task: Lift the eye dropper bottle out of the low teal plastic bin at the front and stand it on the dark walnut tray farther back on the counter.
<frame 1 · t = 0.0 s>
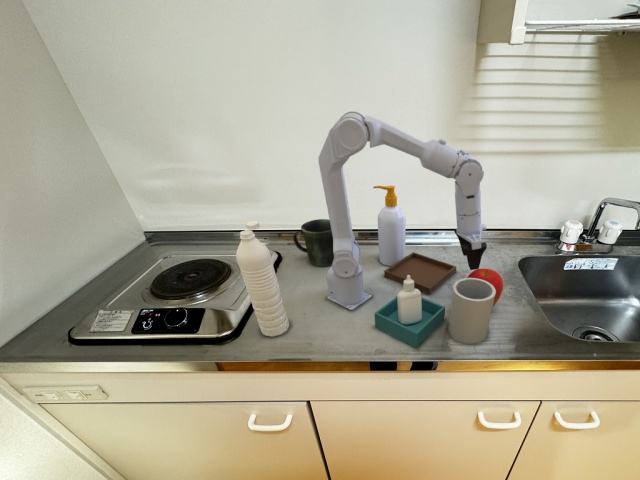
hand: (470, 261, 82), 11 cm above the countertop, tool pointing down, fingers open, 7 cm apart
cup: (467, 331, 76), on the countertop
eye dropper bottle: (410, 321, 77), point 1 cm above the countertop, touching bin
apple: (479, 308, 83), on the countertop, touching gripper
water bottle: (276, 325, 77), on the countertop
bin: (410, 323, 78), on the countertop
mug: (320, 260, 105), on the countertop
tray: (420, 274, 97), on the countertop
soap bottle: (391, 260, 104), on the countertop
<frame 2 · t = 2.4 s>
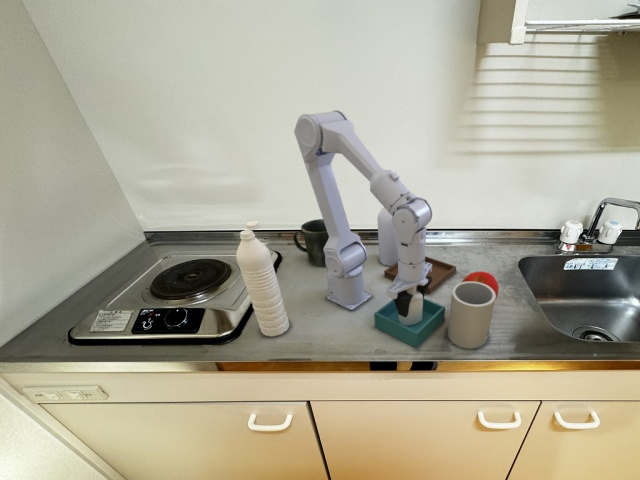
hand: (410, 308, 75), 5 cm above the countertop, tool pointing down, fingers closed on eye dropper bottle, 5 cm apart
cup: (467, 335, 74), on the countertop, touching apple
eye dropper bottle: (410, 321, 77), point 1 cm above the countertop, touching bin, gripper
apple: (477, 307, 82), on the countertop, touching cup
everything else where it was.
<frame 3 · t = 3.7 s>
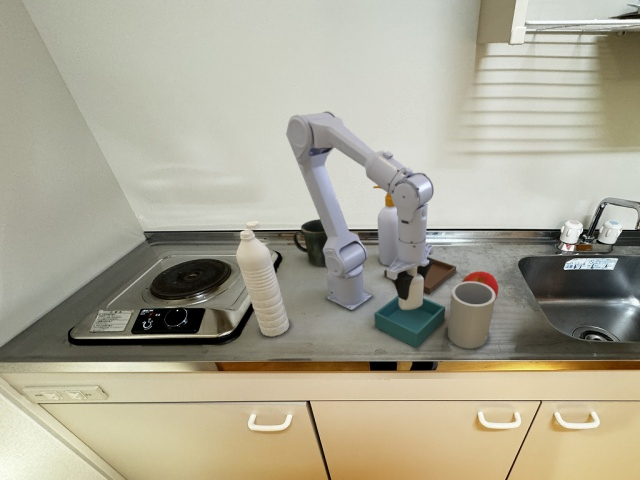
hand: (410, 292, 73), 9 cm above the countertop, tool pointing down, fingers closed on eye dropper bottle, 5 cm apart
eye dropper bottle: (410, 306, 75), point 5 cm above the countertop, touching gripper
everything else where it was.
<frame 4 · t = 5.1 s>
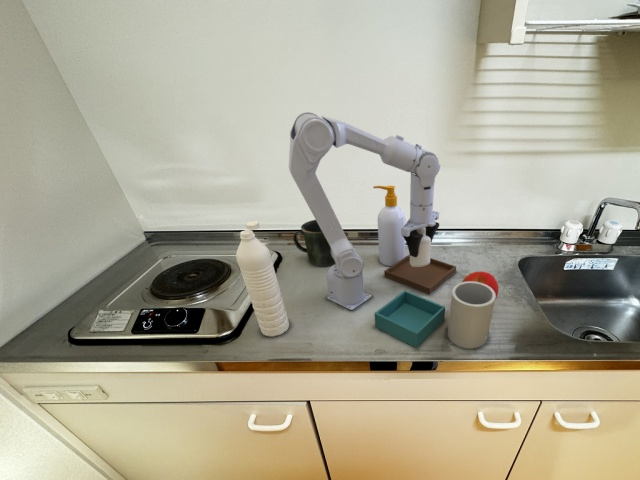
hand: (419, 251, 86), 10 cm above the countertop, tool pointing down, fingers closed on eye dropper bottle, 5 cm apart
eye dropper bottle: (419, 264, 89), point 6 cm above the countertop, touching gripper
everything else where it was.
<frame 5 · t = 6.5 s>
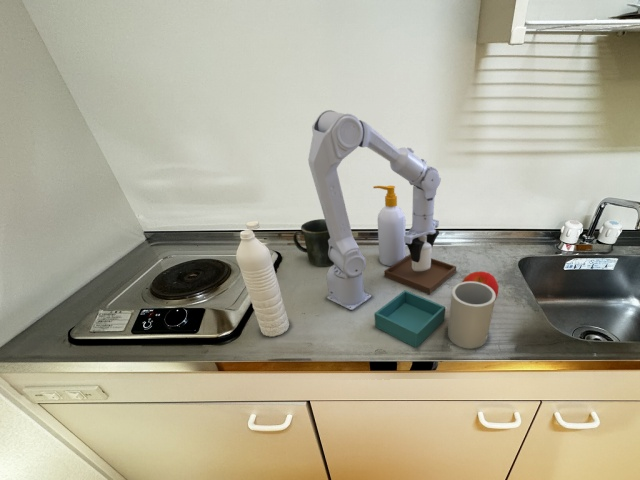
hand: (421, 257, 93), 6 cm above the countertop, tool pointing down, fingers closed on eye dropper bottle, 5 cm apart
eye dropper bottle: (421, 269, 95), point 2 cm above the countertop, touching gripper
everything else where it was.
when the fingers open (4 cm above the countertop, at t = 7.6 s): eye dropper bottle stays where it is, resting on tray.
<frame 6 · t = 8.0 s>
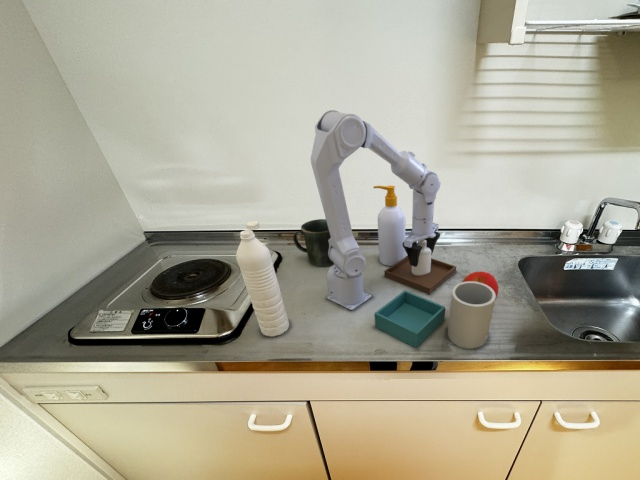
hand: (421, 260, 94), 5 cm above the countertop, tool pointing down, fingers open, 7 cm apart
eye dropper bottle: (420, 273, 96), resting on tray
everything else where it was.
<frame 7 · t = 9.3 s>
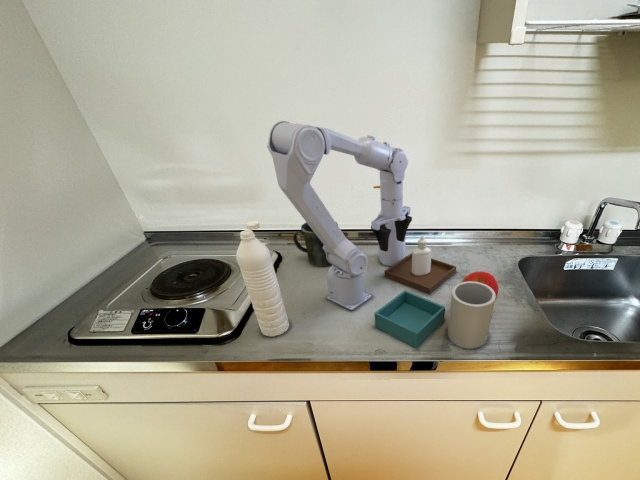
hand: (392, 245, 90), 10 cm above the countertop, tool pointing down, fingers open, 7 cm apart
nothing on the countertop moved.
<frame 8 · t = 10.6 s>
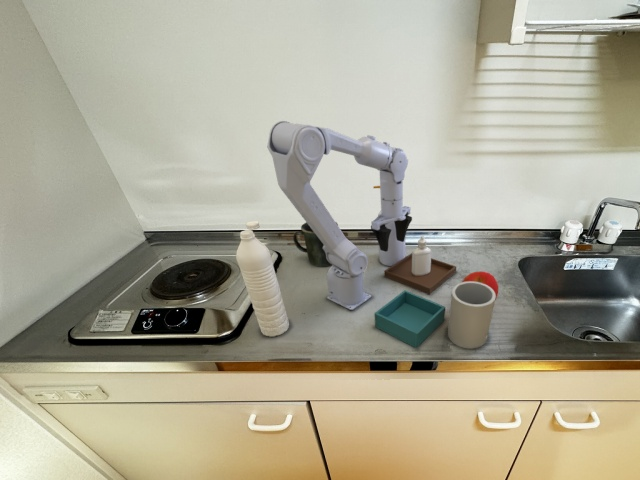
hand: (392, 245, 90), 10 cm above the countertop, tool pointing down, fingers open, 7 cm apart
nothing on the countertop moved.
at the end: eye dropper bottle inside the target area in the tray (0.1 cm from its centre), point 0.4 cm above the tray's base; eye dropper bottle tilted 0°; the gripper is holding nothing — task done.
